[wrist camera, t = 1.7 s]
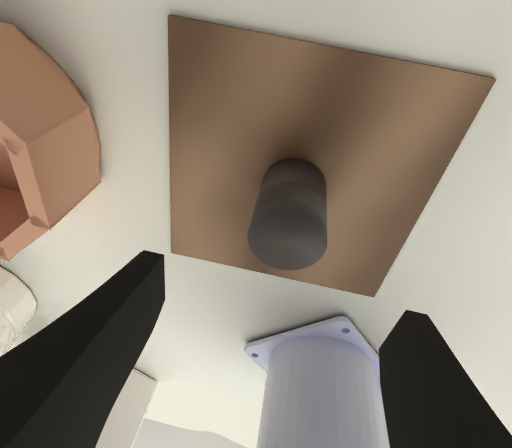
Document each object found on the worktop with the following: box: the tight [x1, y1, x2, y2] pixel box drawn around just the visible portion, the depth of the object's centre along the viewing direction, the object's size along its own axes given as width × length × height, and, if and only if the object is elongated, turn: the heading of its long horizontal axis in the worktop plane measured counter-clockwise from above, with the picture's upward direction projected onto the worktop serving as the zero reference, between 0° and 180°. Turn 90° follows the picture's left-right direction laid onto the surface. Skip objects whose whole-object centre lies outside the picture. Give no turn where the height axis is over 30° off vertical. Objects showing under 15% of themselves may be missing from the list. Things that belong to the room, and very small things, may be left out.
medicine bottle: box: [95, 368, 157, 448], centre depth 26 cm, size 7×7×12 cm
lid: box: [168, 15, 496, 297], centre depth 14 cm, size 12×12×5 cm
